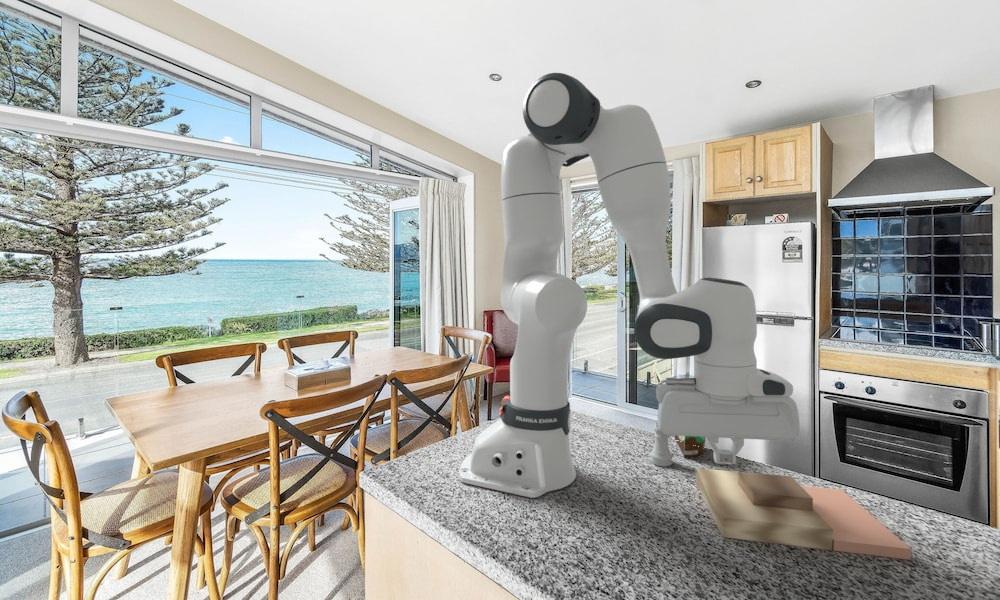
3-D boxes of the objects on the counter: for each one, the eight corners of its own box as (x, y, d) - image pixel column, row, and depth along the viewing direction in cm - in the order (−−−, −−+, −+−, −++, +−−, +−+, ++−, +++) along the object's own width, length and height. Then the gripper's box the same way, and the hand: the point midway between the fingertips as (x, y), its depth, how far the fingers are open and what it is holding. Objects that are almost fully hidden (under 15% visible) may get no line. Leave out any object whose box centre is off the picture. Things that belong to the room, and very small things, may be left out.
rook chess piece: (675, 468, 83) (676, 428, 83) (651, 466, 84) (652, 427, 84) (669, 458, 88) (670, 421, 87) (647, 457, 88) (648, 420, 88)
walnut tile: (753, 505, 64) (753, 492, 64) (738, 483, 71) (738, 471, 71) (812, 511, 63) (812, 498, 63) (790, 488, 70) (791, 476, 69)
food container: (717, 463, 85) (719, 415, 85) (685, 461, 87) (686, 413, 86) (701, 440, 97) (702, 397, 97) (673, 438, 99) (674, 396, 98)
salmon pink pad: (833, 550, 58) (834, 540, 58) (783, 492, 74) (783, 484, 74) (910, 559, 56) (910, 549, 56) (841, 498, 72) (842, 489, 72)
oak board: (722, 537, 61) (723, 517, 61) (696, 483, 77) (697, 468, 77) (832, 550, 58) (832, 529, 58) (781, 492, 74) (782, 475, 74)
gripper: (658, 382, 66) (659, 466, 67) (805, 385, 62) (804, 476, 63) (653, 372, 72) (654, 450, 73) (786, 374, 68) (785, 457, 69)
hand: (724, 462), depth 68 cm, fingers closed
